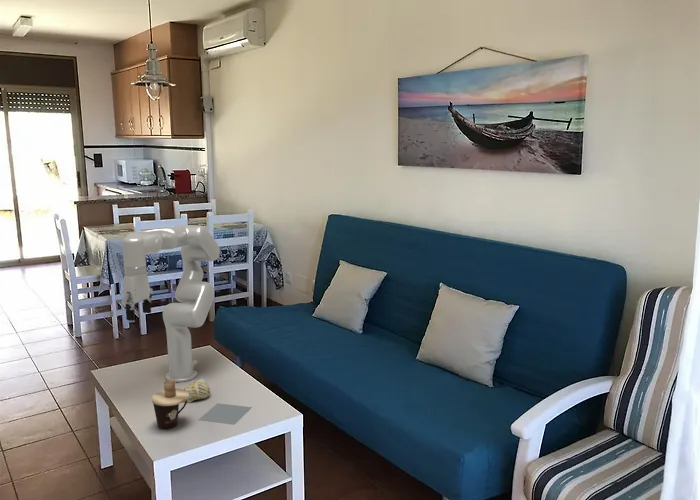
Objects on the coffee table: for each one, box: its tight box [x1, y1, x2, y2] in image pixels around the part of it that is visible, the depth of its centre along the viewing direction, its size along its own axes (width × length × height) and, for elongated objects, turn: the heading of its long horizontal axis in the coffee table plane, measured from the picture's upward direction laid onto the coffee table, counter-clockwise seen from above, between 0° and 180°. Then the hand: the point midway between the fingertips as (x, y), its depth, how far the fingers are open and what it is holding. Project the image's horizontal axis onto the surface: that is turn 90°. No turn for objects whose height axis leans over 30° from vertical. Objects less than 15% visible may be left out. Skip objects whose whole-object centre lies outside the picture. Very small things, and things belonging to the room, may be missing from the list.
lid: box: [151, 379, 189, 406], centre depth 200 cm, size 12×12×6 cm
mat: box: [198, 402, 253, 426], centre depth 210 cm, size 14×14×1 cm
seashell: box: [183, 378, 211, 404], centre depth 223 cm, size 10×10×10 cm
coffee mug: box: [152, 400, 188, 431], centre depth 202 cm, size 12×9×10 cm
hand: (139, 316), depth 217 cm, fingers open, 9 cm apart
